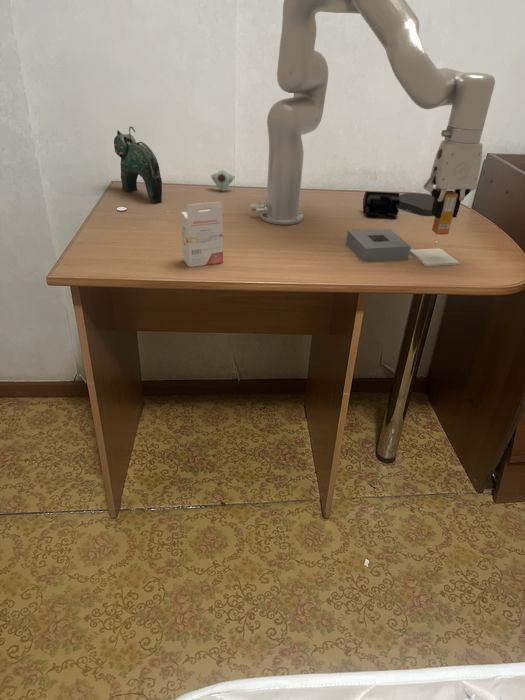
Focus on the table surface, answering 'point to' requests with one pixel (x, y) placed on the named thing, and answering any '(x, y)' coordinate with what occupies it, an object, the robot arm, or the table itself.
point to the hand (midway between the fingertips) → (443, 215)
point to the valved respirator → (222, 179)
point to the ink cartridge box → (202, 234)
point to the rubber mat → (433, 257)
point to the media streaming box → (416, 203)
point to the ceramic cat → (138, 166)
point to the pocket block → (377, 245)
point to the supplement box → (445, 213)
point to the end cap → (381, 205)
